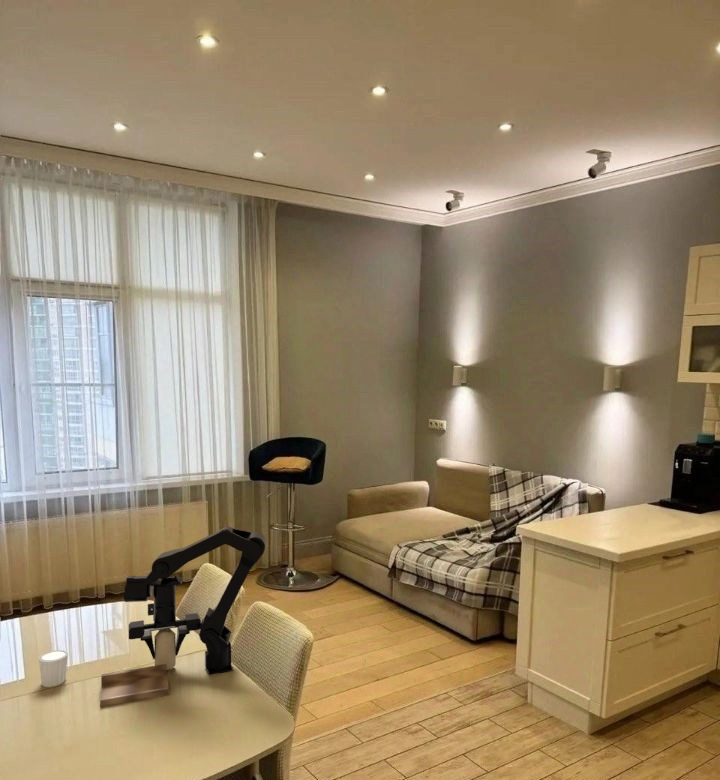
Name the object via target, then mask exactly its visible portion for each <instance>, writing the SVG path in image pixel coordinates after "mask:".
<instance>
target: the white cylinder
mask: <svg viewBox="0 0 720 780" xmlns="http://www.w3.org/2000/svg"><path fill="white" fill-rule="evenodd" d="M68 655H69V653H68V651H66V650H63V649H62V650H60V649H59V650H58V649H57V650H51V651H47V652H45V653H43V654H41V655H40V656H39V658H38V662H39V663H38V664H39V672H40V681H41V686H42V687H45V688H51V687H57V686H60V685H62V684H63V683H64V682H65V681H66V678H67V667H68V658H69V657H68Z"/></svg>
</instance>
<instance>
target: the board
mask: <svg viewBox="0 0 720 780" xmlns="http://www.w3.org/2000/svg"><path fill="white" fill-rule="evenodd" d="M100 677H101V678H100V679H101V681H100V683H101V688H100V689H101V690H100V696H99V697H100V700H99V702H100V703H99V706H100V707H105V706H111V705H118V704H123V703H129V702H135V701H139V700H145V699H150V698H151V699H152V698H157V697H162V696H167V695H169V694H170V691H169V690H170V689H169V681H168V680H169V679H168V670H167V664H163V665H156V666H155V665H151V666H145V667H139V668H133V669H127V670H121V671H114V672H107V673H102V674H101V676H100Z"/></svg>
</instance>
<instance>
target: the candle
mask: <svg viewBox="0 0 720 780" xmlns="http://www.w3.org/2000/svg"><path fill="white" fill-rule="evenodd" d="M176 639H177V633H176V632H175V631H174V630H172V628H170V629H163V630H157V633H156V634H155V635H154V640H153V641H154V652H155V659H154V666H156V665H163V664H167V671H168V670H172V669H174V667H176V664H177V663H176V662H177V661H176V660H177V656H176Z"/></svg>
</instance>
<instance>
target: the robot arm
mask: <svg viewBox="0 0 720 780" xmlns="http://www.w3.org/2000/svg"><path fill="white" fill-rule="evenodd" d="M224 545H227V546H229V547H231V548H233V549H234V550H235V549H236V550H237V551H239V552H241V555H240V557H239V562H238V564H237V566H236V568H235V570H234V572H233V573H232V576H231V578H230V580H229V582H228V584H227V585H226V587H225V588H224V591H223V593H222V594H221V597H220V599H219V601H218V603H217V604H216V606H215V607H214V608H211V607H210V606H209V607H208V609H207V611H206V614H205V615H204V617H203V618H202V619H201V617H200V614H199V613H197V612H195V613H187V614H186V613H185V614H184V618H181V619H177V613H176V612H177V608H176V606H177V603H176V602H177V600H176V595H177V594H176V592H177V591H176V590H177V589H176V587H177V586H181V584H182V583H183V581H184V578H183V577H181V576H179V574H178V573H176V572H177V571H179V570H180V569H181V568H182V567H184V566H185V565H186V564H188V563H189V562H191V561H193V560H195V559H197V558H199V557H202V556H204V555H205V554H206V555H207V554H208V553H210V552H212V551H214V550H216V549H218V548H220V547H222V546H224ZM266 547H267V537H266V536H265V535H264V534H263V533H262V532H261V531H260V532H258V531H255V532H251V531H247V530H243V529H238V528H237V529H236V528H234V527H230V526H223V527H222V528H221V529H219V530H217V531H216V532H214V533H212V534H209V535H207V536H205V537H203V538H201V539H199V540H197V541H195V542H192V543H190V544H189V545H187V546H184V547H182V548H176V549H171V550H168V551H164V552H162V553H161V554H159V555H158V557H156V559H155V560H154V561H153V562H152V565H151V570H150V572H149V573H148V574H147V575H137V576H136V575H128V576H127V577H126V578H125V579H126V581H125V582H126V583H125V586H124V591H123V602H125V603H135V602H136V603H137V602H138V603H139V602H148V601H149V598H152V597H153V603H148V604H147V616H148V617H149V616H152V617H153V620H152V621H153V622H152V623H146V624H145V621H144V620H136V621H130V622H129V623H128V640H136V639H140V641H141V642H145V645H146V646H147V647H148V649H149V652H150V655H151V657H152V660H155V644H154V640H153V632H154V631H156V632H157V631H159V630H163V629H176V657H177V656H178V655H179V651H180V648H181V646H182V643H183V642H184V640H185V638H186V636H187V635H190V634H191V632H193V631H199V634H198V638H199V639H200V641H201V643H203V644H204V645H205V647H206V650H205V651H204V667H205V670H207V674H208V675H213V674H219V673H226V672H230V671H233V670H234V669H233V668H234V667H233V666H232V665H233V664H232V644H231V642H230V639H231V636H232V631H231V630H230V629H229V628H228V627H226V625H225V624H226V621H227V617H228V614H229V613H230V611H231V608H232V606H233V604H234V602H235V600H236V598H237V597H238V594H239V593H240V591H241V588H242V587H243V584H244V582H245V580H246V579H247V578H248V575H249V573H250V571H251V570H252V568H253V567H255V565H256V564H257V563H258V562H259V560H260V559H261V558H262V556H263V555H264V553H265V550H266ZM174 573H175V575H174V576H172V575H173V574H174Z"/></svg>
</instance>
